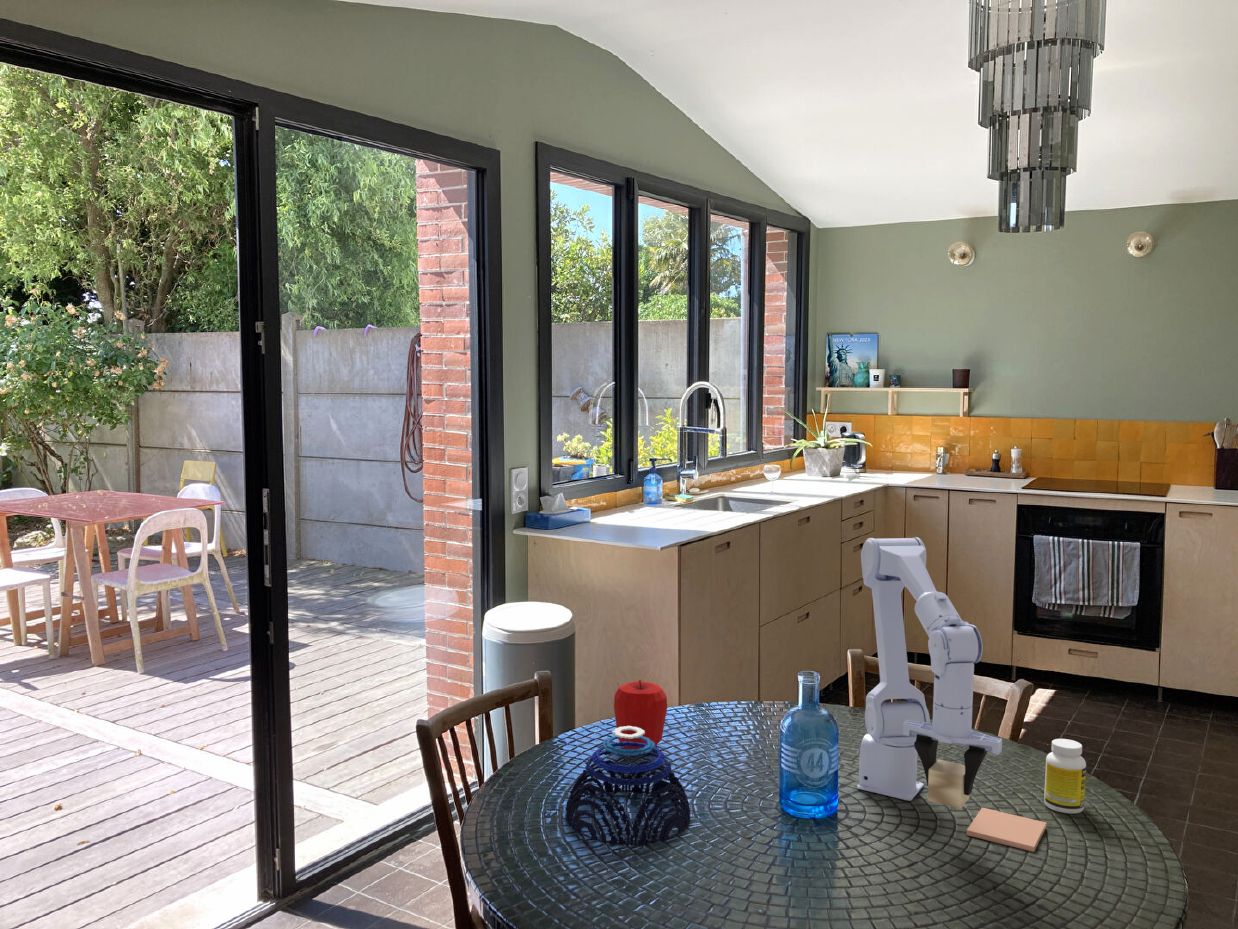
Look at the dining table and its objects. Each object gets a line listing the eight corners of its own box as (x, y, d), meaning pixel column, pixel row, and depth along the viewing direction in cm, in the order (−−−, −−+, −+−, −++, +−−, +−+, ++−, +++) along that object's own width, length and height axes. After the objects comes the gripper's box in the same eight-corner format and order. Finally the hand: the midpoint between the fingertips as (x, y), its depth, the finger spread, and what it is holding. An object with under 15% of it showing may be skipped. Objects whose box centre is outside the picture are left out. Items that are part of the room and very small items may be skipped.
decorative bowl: (714, 816, 163) (716, 731, 161) (633, 858, 148) (634, 765, 147) (625, 782, 176) (625, 703, 175) (542, 817, 162) (542, 731, 160)
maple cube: (927, 801, 153) (928, 769, 153) (937, 789, 157) (938, 759, 157) (960, 809, 150) (961, 777, 150) (969, 797, 154) (970, 766, 154)
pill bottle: (1088, 816, 163) (1091, 751, 162) (1048, 813, 165) (1051, 748, 164) (1078, 801, 169) (1082, 738, 168) (1040, 797, 171) (1043, 735, 170)
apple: (667, 759, 186) (668, 688, 185) (613, 758, 187) (613, 687, 185) (665, 738, 197) (666, 672, 196) (614, 738, 197) (614, 671, 196)
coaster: (966, 835, 156) (966, 830, 156) (981, 812, 165) (982, 807, 165) (1033, 852, 151) (1034, 847, 151) (1046, 827, 159) (1046, 822, 159)
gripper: (897, 701, 153) (894, 786, 154) (995, 719, 145) (991, 809, 146) (912, 689, 159) (909, 771, 160) (1006, 706, 151) (1002, 793, 152)
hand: (949, 788), depth 154 cm, fingers closed on maple cube, 5 cm apart
